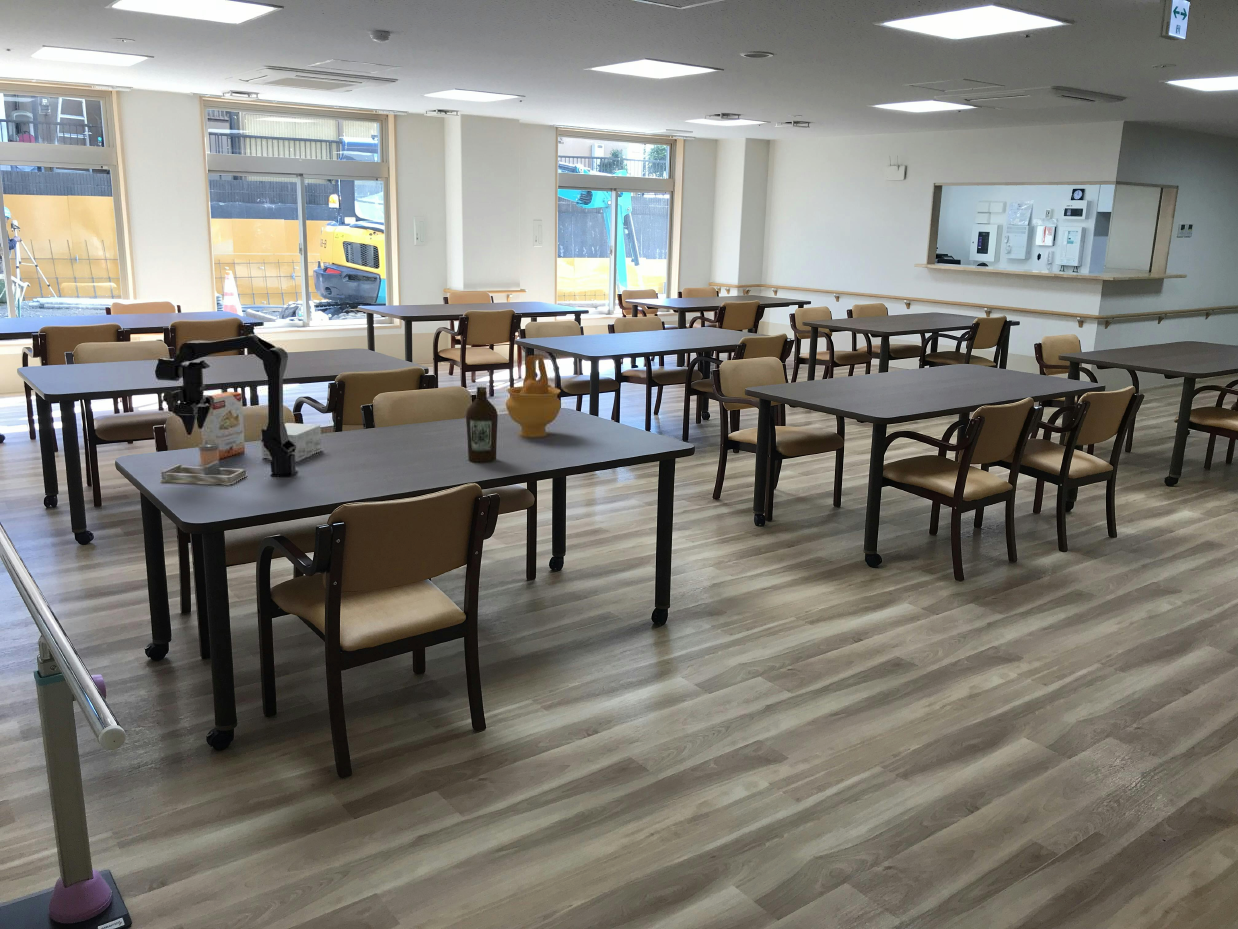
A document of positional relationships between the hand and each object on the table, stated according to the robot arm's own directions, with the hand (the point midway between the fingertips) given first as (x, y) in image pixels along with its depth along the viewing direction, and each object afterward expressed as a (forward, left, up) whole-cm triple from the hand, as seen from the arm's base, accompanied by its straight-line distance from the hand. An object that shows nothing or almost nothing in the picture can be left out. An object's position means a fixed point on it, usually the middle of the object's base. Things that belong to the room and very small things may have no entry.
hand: (194, 431), depth 306 cm
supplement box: (-18, -29, -14) cm, 37 cm away
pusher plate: (-8, +7, -13) cm, 17 cm away
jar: (-2, -4, -13) cm, 14 cm away
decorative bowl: (-92, -79, -14) cm, 122 cm away
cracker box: (+3, -23, -14) cm, 27 cm away
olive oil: (-83, -34, -14) cm, 91 cm away
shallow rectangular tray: (-6, +7, -13) cm, 16 cm away
